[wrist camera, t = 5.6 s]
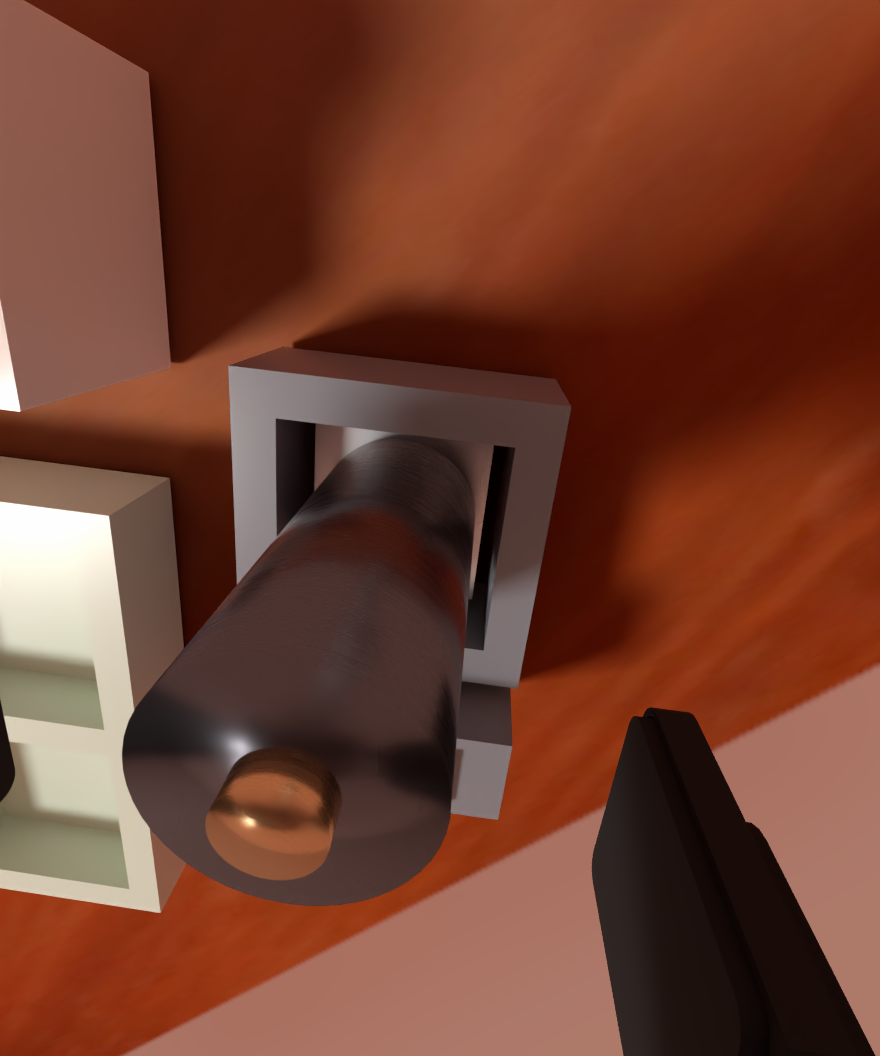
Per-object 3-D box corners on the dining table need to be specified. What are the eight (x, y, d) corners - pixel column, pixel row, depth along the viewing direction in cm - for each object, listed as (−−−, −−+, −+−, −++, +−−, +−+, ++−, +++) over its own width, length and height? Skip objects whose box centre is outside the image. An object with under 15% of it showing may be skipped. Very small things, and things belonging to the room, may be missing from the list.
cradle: (283, 346, 16) (189, 378, 11) (555, 378, 15) (582, 427, 11) (284, 661, 20) (215, 787, 15) (500, 691, 19) (501, 829, 15)
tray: (-92, 444, 18) (-199, 475, 15) (169, 477, 17) (109, 516, 15) (4, 808, 24) (-60, 878, 21) (199, 837, 23) (160, 912, 21)
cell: (323, 429, 15) (65, 664, 6) (485, 449, 15) (469, 719, 6) (320, 572, 16) (113, 925, 7) (465, 592, 16) (428, 975, 7)
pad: (331, 408, 16) (315, 420, 15) (494, 427, 16) (494, 442, 14) (326, 554, 18) (312, 578, 16) (473, 573, 18) (472, 599, 16)
